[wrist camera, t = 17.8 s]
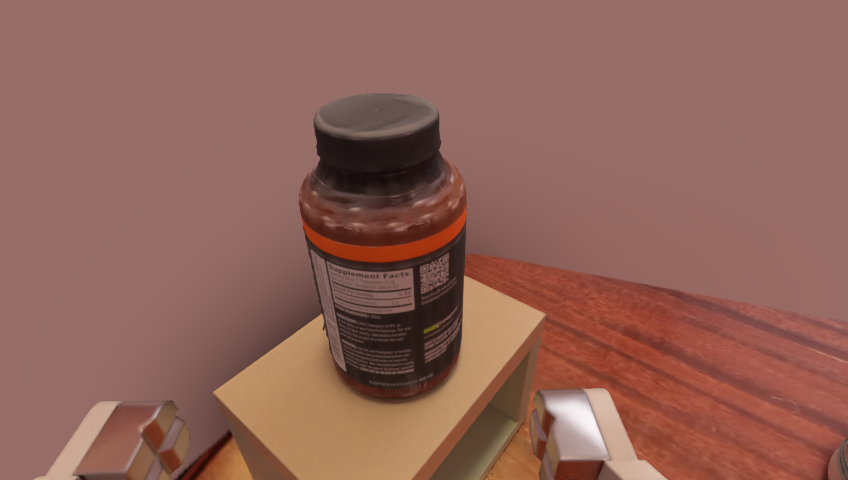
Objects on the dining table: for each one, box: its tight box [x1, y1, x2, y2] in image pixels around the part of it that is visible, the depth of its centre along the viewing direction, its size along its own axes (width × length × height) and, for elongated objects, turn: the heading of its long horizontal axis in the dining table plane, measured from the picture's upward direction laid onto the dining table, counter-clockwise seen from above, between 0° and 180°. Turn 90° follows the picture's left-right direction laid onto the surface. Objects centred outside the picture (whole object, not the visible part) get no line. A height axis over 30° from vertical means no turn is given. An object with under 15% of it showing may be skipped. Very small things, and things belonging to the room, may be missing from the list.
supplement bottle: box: [299, 93, 467, 399], centre depth 17 cm, size 6×6×11 cm
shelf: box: [213, 275, 546, 480], centre depth 23 cm, size 13×9×9 cm
